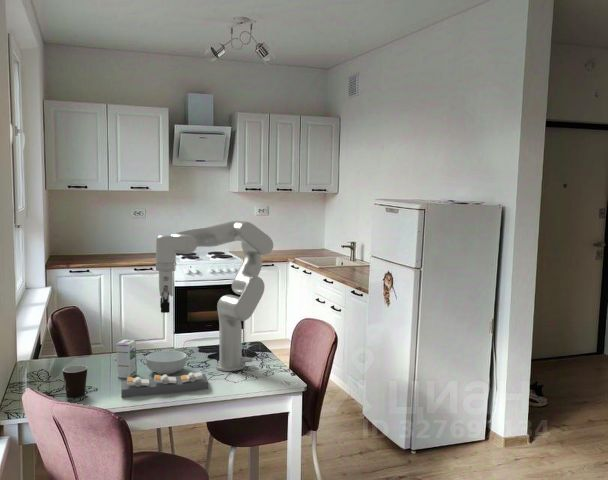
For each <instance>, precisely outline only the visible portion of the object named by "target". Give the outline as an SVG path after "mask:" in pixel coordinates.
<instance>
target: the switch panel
mask: <svg viewBox="0 0 608 480" xmlns="http://www.w3.org/2000/svg"><path fill="white" fill-rule="evenodd" d="M202 375H203V378H199V379H195V381H194V382H191V381H187V382H183V383H182V380H181V376H182V375H176V376H174V375H173V377H176V383H168V384H163V382H155V380H154V377H153V378H152V377H151V378H148V379H149V386H145V385H141V386H139V387H137V386H135V385H132V384H127V380H121V386H120V387H121V392H120V393H121V396H120V397H121V398H123V399H124V398H132V397H134V398H135V397H144V396H152V395H153V396H154V395H164V394H174V393H185V392H195V391H197V392H198V391H206V390H207V391H208V390H209V380H208V377H207V375H206V373H202Z"/></svg>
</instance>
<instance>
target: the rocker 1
mask: <svg viewBox="0 0 608 480" xmlns="http://www.w3.org/2000/svg"><path fill="white" fill-rule="evenodd" d="M149 379H150V378H141V376H136V377H134V376H132V377H127V378H126V381H127V384H132V385H135V386H137V387H139V386H141V385H145V386H149Z"/></svg>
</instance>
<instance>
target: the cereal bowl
mask: <svg viewBox="0 0 608 480" xmlns="http://www.w3.org/2000/svg"><path fill="white" fill-rule="evenodd" d="M187 355H188V354H187V353H186V352H183V351H179V350H157V351H153V352H151V353H149V354H147V355H146V357H145V363H146V366H147V368H148V369H149V370H150V371H151V372H154V373H156V374H157V375H160V376H163V375H165V374H166V375H167V376H169V375H173V374H175V373H176V372H179V371H181V370H182V369H184V367H185V366H186V363H187V359H188V357H187Z"/></svg>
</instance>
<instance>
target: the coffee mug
mask: <svg viewBox="0 0 608 480" xmlns="http://www.w3.org/2000/svg"><path fill="white" fill-rule="evenodd" d="M62 374H63V375H62V376H63V381H64V388H65V395H66V398H68V399H77V398H82V397H83V396H85V395H86V384H87V377H88V366H86V365H82V364H76V365H74V364H73V365H69V366H67V367H64V368H62Z"/></svg>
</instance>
